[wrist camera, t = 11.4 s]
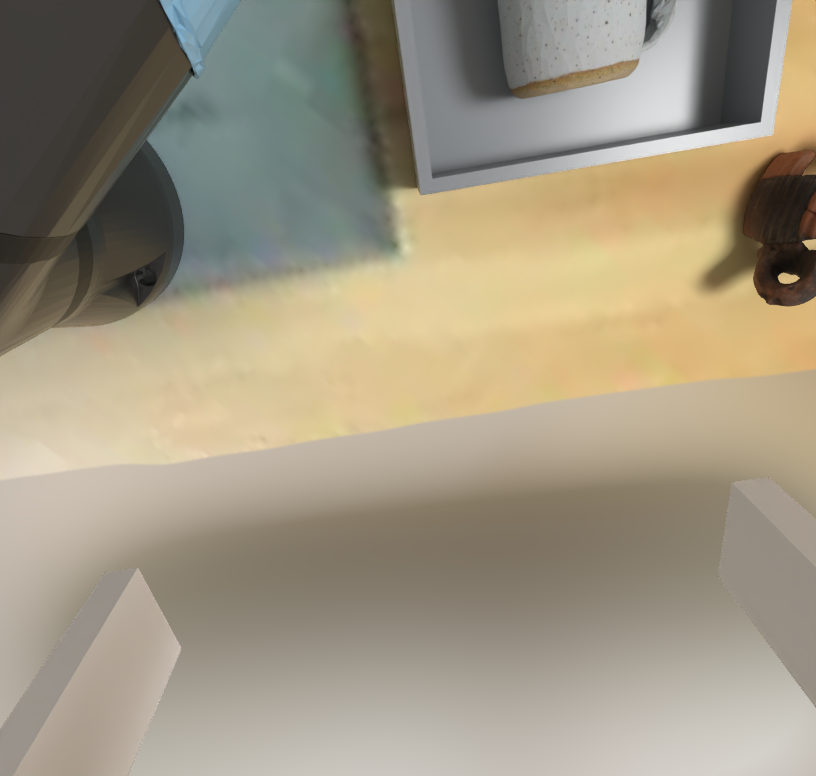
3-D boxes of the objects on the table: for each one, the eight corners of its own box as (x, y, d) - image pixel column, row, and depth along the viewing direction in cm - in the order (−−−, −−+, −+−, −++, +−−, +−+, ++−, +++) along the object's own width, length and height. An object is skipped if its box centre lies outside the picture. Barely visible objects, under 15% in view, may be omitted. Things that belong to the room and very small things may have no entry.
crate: (417, 188, 35) (420, 195, 30) (372, -136, 27) (367, -190, 23) (722, 135, 34) (772, 135, 29) (759, -215, 26) (833, -287, 22)
